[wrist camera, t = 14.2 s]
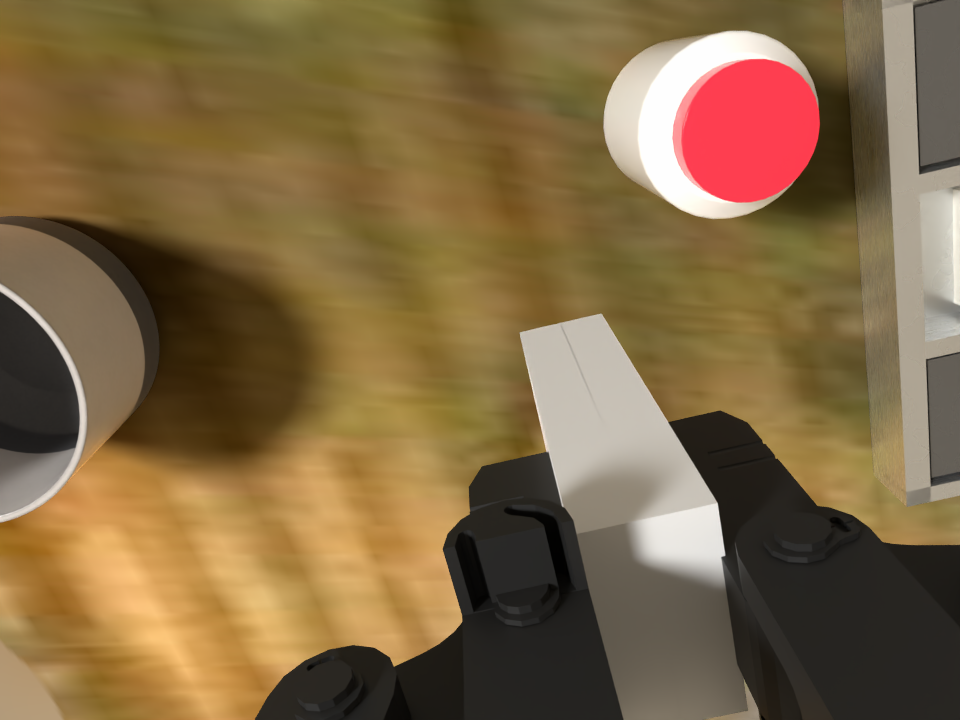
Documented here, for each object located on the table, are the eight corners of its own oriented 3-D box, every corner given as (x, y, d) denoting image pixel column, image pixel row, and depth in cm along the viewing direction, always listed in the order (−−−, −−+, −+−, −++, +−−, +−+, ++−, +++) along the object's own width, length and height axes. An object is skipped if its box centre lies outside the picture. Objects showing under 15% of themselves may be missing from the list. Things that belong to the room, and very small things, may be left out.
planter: (116, 465, 47) (27, 569, 37) (-99, 364, 44) (-256, 447, 35) (205, 287, 43) (133, 349, 34) (-23, 165, 41) (-174, 194, 31)
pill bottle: (772, 63, 40) (882, 60, 30) (717, 209, 43) (800, 252, 33) (632, 18, 39) (695, -1, 29) (583, 170, 42) (625, 201, 32)
